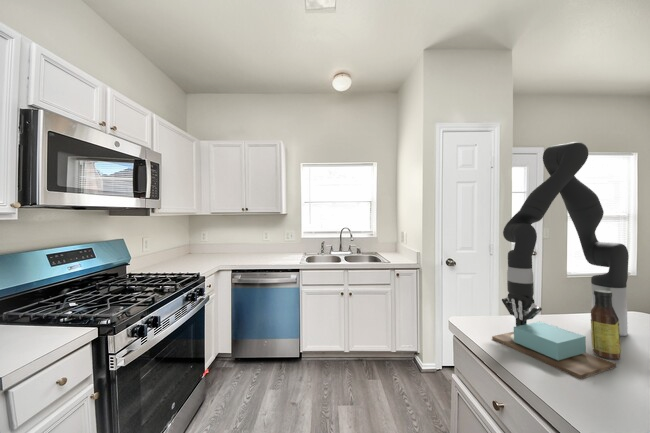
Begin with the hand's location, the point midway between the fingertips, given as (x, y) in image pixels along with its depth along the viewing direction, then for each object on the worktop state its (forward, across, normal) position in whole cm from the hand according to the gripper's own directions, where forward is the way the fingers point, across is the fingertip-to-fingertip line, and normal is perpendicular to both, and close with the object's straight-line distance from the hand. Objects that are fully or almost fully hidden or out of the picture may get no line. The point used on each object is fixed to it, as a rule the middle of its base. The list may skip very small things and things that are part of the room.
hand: (521, 329), depth 96 cm
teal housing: (+2, -9, 0) cm, 9 cm away
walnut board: (+4, -8, 0) cm, 9 cm away
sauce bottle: (+4, -16, -14) cm, 22 cm away
